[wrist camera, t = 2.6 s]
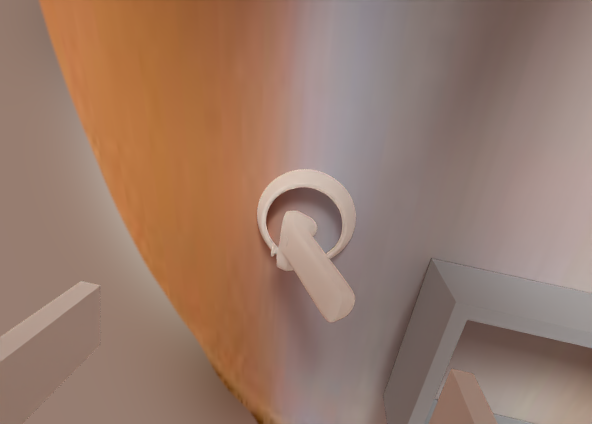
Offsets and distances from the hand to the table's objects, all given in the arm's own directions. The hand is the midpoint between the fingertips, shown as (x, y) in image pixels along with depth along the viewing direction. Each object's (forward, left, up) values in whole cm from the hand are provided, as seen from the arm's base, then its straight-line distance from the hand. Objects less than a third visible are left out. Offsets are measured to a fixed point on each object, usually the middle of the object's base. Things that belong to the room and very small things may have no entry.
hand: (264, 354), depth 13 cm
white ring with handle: (0, 0, -15) cm, 15 cm away
